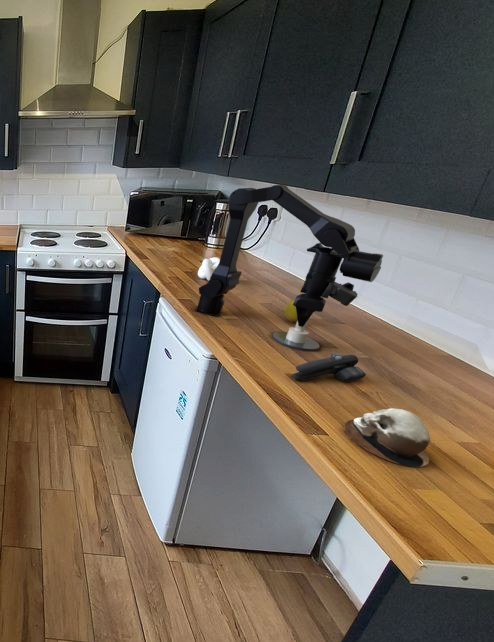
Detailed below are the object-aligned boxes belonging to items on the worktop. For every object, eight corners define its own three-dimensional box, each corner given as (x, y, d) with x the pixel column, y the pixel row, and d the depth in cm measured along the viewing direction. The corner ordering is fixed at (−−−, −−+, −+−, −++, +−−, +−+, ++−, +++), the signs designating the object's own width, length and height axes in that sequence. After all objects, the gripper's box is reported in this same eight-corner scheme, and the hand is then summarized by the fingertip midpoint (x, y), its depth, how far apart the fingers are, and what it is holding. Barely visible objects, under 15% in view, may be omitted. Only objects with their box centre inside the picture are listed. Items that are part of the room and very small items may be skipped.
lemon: (295, 319, 131) (304, 296, 127) (306, 326, 126) (315, 302, 122) (277, 317, 131) (285, 295, 128) (287, 324, 126) (296, 301, 123)
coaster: (268, 341, 115) (269, 339, 114) (275, 330, 122) (276, 328, 122) (316, 354, 108) (317, 353, 108) (320, 342, 115) (321, 340, 115)
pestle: (284, 339, 115) (298, 302, 110) (287, 334, 118) (301, 298, 113) (304, 345, 112) (319, 307, 107) (306, 339, 115) (321, 302, 110)
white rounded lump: (225, 278, 169) (231, 257, 165) (230, 286, 159) (236, 265, 155) (196, 274, 172) (201, 254, 169) (198, 282, 162) (204, 261, 159)
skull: (324, 418, 80) (371, 385, 78) (347, 446, 83) (393, 415, 81) (382, 460, 69) (440, 424, 67) (406, 490, 72) (462, 456, 70)
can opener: (339, 367, 102) (348, 348, 100) (367, 382, 96) (377, 362, 93) (279, 371, 99) (287, 351, 97) (304, 387, 93) (313, 366, 90)
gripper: (360, 286, 95) (335, 344, 101) (363, 271, 108) (340, 323, 114) (303, 275, 102) (283, 330, 108) (312, 262, 115) (293, 312, 121)
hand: (301, 324), depth 113 cm, fingers open, 3 cm apart
